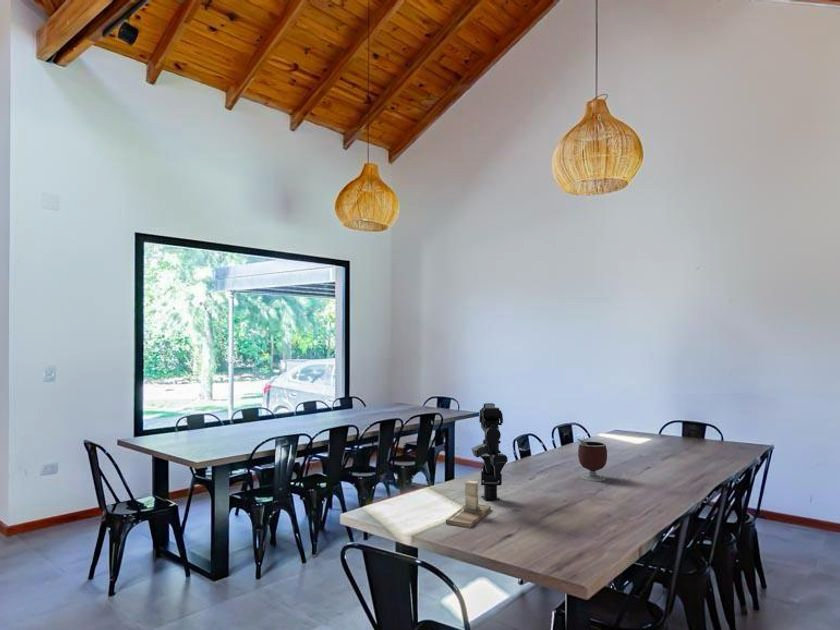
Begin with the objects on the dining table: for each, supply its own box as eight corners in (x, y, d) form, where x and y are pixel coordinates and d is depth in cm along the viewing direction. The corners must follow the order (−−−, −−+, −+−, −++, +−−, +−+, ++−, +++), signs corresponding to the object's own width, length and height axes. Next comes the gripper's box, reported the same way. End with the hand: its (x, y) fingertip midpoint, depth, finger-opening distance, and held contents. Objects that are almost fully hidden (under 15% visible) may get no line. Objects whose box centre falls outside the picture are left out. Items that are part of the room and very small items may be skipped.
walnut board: (467, 506, 235) (467, 502, 235) (490, 509, 231) (490, 505, 231) (445, 523, 213) (445, 519, 213) (470, 527, 209) (470, 523, 209)
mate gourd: (596, 473, 291) (595, 434, 292) (613, 480, 278) (612, 439, 278) (570, 476, 286) (569, 436, 287) (586, 482, 273) (585, 441, 274)
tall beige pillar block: (468, 507, 228) (467, 480, 229) (479, 509, 226) (479, 481, 227) (463, 511, 224) (463, 483, 224) (475, 512, 222) (475, 484, 222)
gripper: (466, 435, 242) (466, 471, 241) (481, 442, 224) (482, 482, 223) (490, 433, 245) (490, 470, 244) (507, 441, 227) (508, 480, 226)
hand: (492, 475), depth 234 cm, fingers open, 9 cm apart
